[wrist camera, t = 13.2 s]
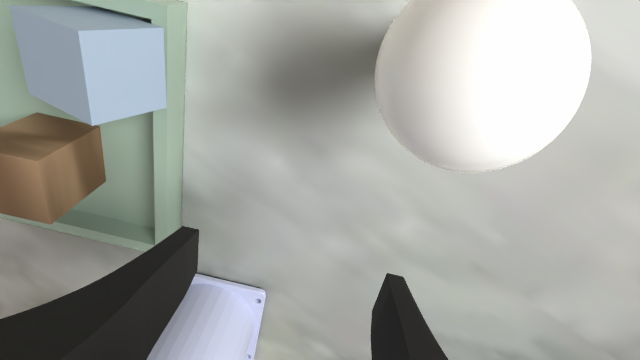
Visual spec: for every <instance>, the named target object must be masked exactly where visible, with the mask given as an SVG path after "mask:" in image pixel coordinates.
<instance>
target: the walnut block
mask: <svg viewBox="0 0 640 360" xmlns="http://www.w3.org/2000/svg"><path fill="white" fill-rule="evenodd" d="M105 182H106V175H105V166H104V158H103V149H102V140H101V131H100V126H97V125H94V126H91V125H89V124H87V123H83V122H79V121H74V120H69V119H65V118H60V117H56V116H51V115H47V114H42V113H38V112H36V113H34V114H32V115H29V116H27V117H24V118H22V119H19V120H17V121H15V122H12V123H10V124H7V125H5V126H2V127H0V213H1V214H5V215H10V216H14V217H19V218H23V219H28V220H32V221H37V222H41V223H46V224H50V225H51V224H52V223H54V222H55V221H56V220H57V219H59V218H60V217H61V216H63V215H64V214H65V213H66V212H68V211H69V210H70V209H71V208H73V207H74V206H75V205H77V204H78V203H79V202H80V201H82V200H83V199H84V198H85V197H87V196H88V195H89V194H91V193H92V192H93V191H94V190H96V189H97V188H98V187H99V186H101V185H102V184H103V183H105Z"/></svg>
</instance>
